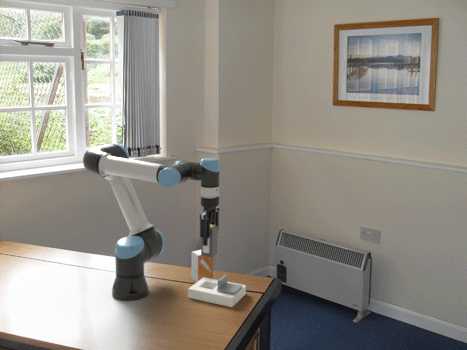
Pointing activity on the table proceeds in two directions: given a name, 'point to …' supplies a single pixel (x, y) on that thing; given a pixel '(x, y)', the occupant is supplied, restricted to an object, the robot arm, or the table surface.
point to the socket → (214, 292)
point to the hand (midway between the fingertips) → (209, 250)
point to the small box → (201, 266)
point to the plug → (211, 241)
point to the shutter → (227, 286)
